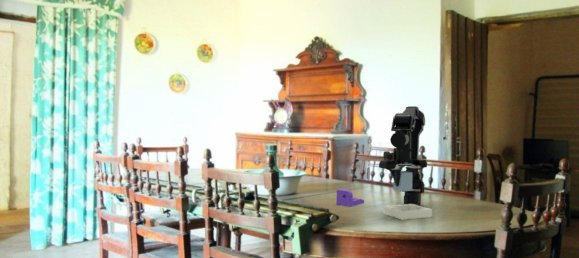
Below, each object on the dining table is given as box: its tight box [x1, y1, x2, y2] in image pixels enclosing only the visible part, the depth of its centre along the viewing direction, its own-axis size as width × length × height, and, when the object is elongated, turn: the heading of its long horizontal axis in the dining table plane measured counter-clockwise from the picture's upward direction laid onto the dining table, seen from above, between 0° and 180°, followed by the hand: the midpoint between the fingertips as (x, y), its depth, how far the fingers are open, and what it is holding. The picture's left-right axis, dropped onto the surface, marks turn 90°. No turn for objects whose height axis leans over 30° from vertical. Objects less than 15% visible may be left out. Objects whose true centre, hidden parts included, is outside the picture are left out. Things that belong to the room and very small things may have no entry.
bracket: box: [336, 189, 365, 208], centre depth 204 cm, size 12×7×7 cm, turn 141°
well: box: [382, 203, 433, 221], centre depth 181 cm, size 14×12×3 cm
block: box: [393, 170, 413, 192], centre depth 180 cm, size 5×5×7 cm
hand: (402, 186), depth 180 cm, fingers closed on block, 5 cm apart
